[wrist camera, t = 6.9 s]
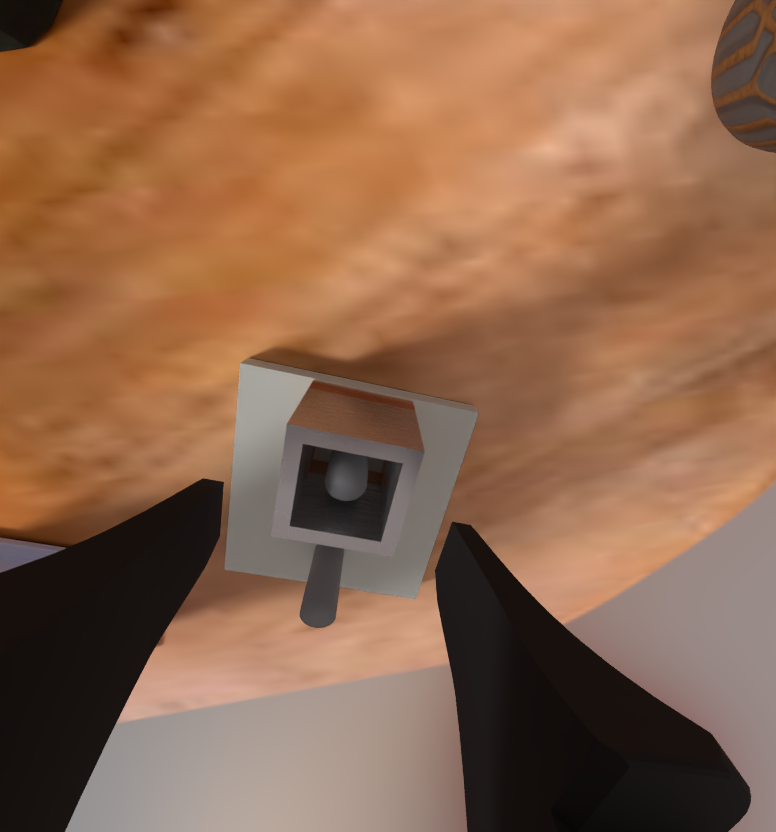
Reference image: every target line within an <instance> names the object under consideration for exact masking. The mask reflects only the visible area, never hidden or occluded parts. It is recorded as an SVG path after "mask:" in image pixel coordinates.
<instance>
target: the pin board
mask: <svg viewBox="0 0 776 832" xmlns="http://www.w3.org/2000/svg"><path fill="white" fill-rule="evenodd" d="M313 380H317V381H322V382H326V383H331V384H336V385H340V386H345V387H349V388H354V389H359V390H363V391H368V392H373V393H377V394H382V395H387V396H391V397H396V398H401V399H405V400H410V401H413V404H414V408H415V412H416V416H417V421H418V425H419V429H420V433H421V438H422V442H423V446H424V450H425V453H424V456H423V459H422V462H421V466H420V469H419V472H418V476H417V479H416V482H415V486H414V489H413V492H412V496H411V499H410V502H409V506H408V509H407V512H406V515H405V519H404V522H403V525H402V529H401V532H400V535H399V539H398V542H397V545H396V549H395V552H394V555H393V557H390V556H384V555H378V554H372V553H366V552H360V551H355V550H349V549H343V548H337V547H331V546H325V545H319V544H314V543H308V542H302V541H296V540H290V539H284V538H278V537H272V536H271V532H272V525H273V518H274V511H275V504H276V497H277V490H278V483H279V476H280V469H281V462H282V455H283V448H284V441H285V434H286V427H287V423H288V421H289V419H290V418H291V416H292V414H293V413H294V411H295V410H296V408H297V406H298V405H299V403H300V401H301V400H302V398H303V396H304V395H305V393H306V391H307V390H308V388H309V386H310V385H311V383H312V382H313ZM478 415H479V412H478V411H477V409H476V408H475V406H474V405H469V404H465V403H460V402H455V401H450V400H446V399H441V398H436V397H431V396H427V395H422V394H417V393H412V392H408V391H403V390H398V389H393V388H389V387H384V386H379V385H375V384H370V383H365V382H360V381H356V380H351V379H346V378H341V377H337V376H332V375H327V374H322V373H318V372H313V371H308V370H303V369H299V368H294V367H289V366H284V365H280V364H275V363H270V362H265V361H261V360H256V359H251V358H247V359H246V360H244V361H243V362H241V363H240V375H239V388H238V401H237V414H236V427H235V439H234V452H233V465H232V478H231V491H230V503H229V516H228V529H227V542H226V555H225V567H224V570H230V571H237V572H243V573H250V574H256V575H263V576H269V577H276V578H282V579H289V580H295V581H301V582H307V584H306V589H305V593H304V597H303V601H302V605H301V610H300V618H301V620H302V621H303V622H304V623H305V624H306V625H308V626H311V627H315V628H322V627H326V626H329V625H330V624H332V623H333V622H334V620H335V618H336V610H337V603H338V595H339V588H347V589H353V590H360V591H366V592H373V593H379V594H386V595H392V596H399V597H405V598H412V599H416V597H417V594H418V591H419V588H420V585H421V582H422V579H423V576H424V573H425V570H426V567H427V564H428V561H429V558H430V555H431V553H432V550H433V547H434V544H435V541H436V538H437V535H438V532H439V529H440V526H441V523H442V520H443V517H444V514H445V511H446V508H447V506H448V503H449V500H450V497H451V494H452V491H453V488H454V485H455V482H456V479H457V476H458V473H459V470H460V467H461V464H462V462H463V459H464V456H465V453H466V450H467V447H468V444H469V441H470V438H471V435H472V432H473V429H474V426H475V423H476V420H477V418H478ZM313 459H314V460H319V461H324V462H329V465H328V469H327V473H326V476H325V488H326V490H327V491H328V493H329V494H330V495H331V496H332V497H334V498H336V499H338V500H342V501H351V500H355V499H357V498H359V497H360V496H361V495H362V494H363V493H364V492H365V490H366V487H367V477H368V470H371V471H376V472H381V471H382V467H383V463H384V460H383V459H378V458H373V457H368V456H362V455H357V454H352V453H347V452H342V451H337V450H332V449H327V448H322V447H317V446H315V452H314V458H313Z"/></svg>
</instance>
